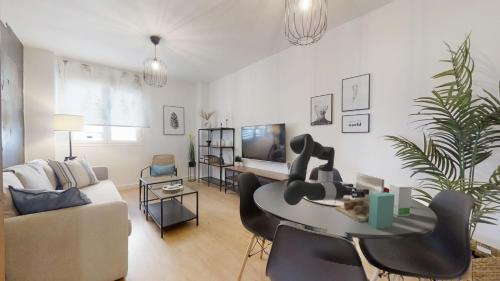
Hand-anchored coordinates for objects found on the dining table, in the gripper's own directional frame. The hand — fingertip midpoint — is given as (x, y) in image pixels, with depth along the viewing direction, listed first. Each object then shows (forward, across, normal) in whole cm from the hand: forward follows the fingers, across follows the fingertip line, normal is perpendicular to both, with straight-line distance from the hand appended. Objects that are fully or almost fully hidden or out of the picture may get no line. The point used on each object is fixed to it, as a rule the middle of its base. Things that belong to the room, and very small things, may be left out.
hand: (360, 188), depth 91 cm
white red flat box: (+49, +20, +18) cm, 56 cm away
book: (+13, 0, +18) cm, 23 cm away
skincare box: (+37, +9, +18) cm, 42 cm away
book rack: (+13, +14, +18) cm, 27 cm away
